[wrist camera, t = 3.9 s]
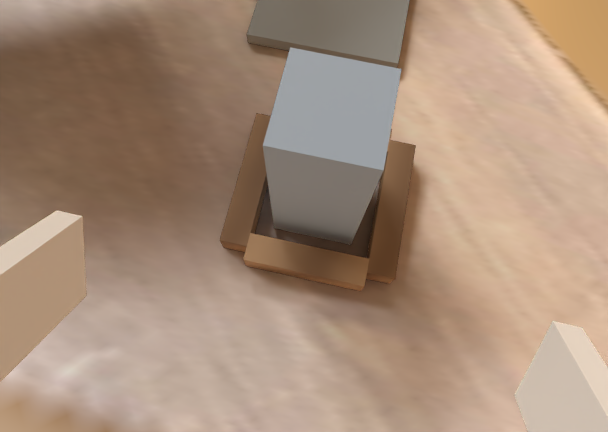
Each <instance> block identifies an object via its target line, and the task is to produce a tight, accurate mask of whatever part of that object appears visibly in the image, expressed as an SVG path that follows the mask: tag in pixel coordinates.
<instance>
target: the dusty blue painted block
mask: <svg viewBox="0 0 608 432" xmlns="http://www.w3.org/2000/svg"><path fill="white" fill-rule="evenodd" d="M400 75H401V69H399V68H394V67H389V66H383V65H378V64H373V63H368V62H363V61H358V60H353V59H347V58H342V57H337V56H332V55H327V54H322V53H317V52H311V51H306V50H301V49H296V48H291V47H290V50H289V53H288V57H287V60H286V64H285V68H284V71H283V75H282V78H281V82H280V85H279V89H278V93H277V96H276V100H275V103H274V107H273V111H272V114H271V118H270V121H269V125H268V128H267V132H266V136H265V139H264V143H263V151H264V158H265V166H266V173H267V180H268V188H269V195H270V202H271V210H272V217H273V224H274V228H276V229H280V230H285V231H289V232H294V233H299V234H303V235H308V236H313V237H317V238H322V239H326V240H331V241H336V242H340V243H345V244H350V245H351V243H352V241H353V239H354V236H355V234H356V232H357V230H358V227H359V225H360V223H361V221H362V218H363V216H364V214H365V211H366V209H367V207H368V205H369V202H370V200H371V198H372V196H373V193H374V191H375V189H376V187H377V184H378V182H379V180H380V178H381V175H382V173H383V171H384V165H385V160H386V154H387V148H388V143H389V137H390V131H391V126H392V120H393V114H394V109H395V103H396V97H397V92H398V86H399V80H400Z"/></svg>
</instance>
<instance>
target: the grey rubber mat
mask: <svg viewBox="0 0 608 432" xmlns="http://www.w3.org/2000/svg"><path fill="white" fill-rule="evenodd" d="M409 1H410V0H258V1H257V4H256V7H255V10H254V13H253V16H252V20H251V23H250V26H249V29H248V32H247V39H248V43H252V44H257V45H262V46H268V47H273V48H278V49H283V50H288V51H289V50H290V47H291V48H296V49H301V50H306V51H311V52H317V53H322V54H327V55H332V56H337V57H342V58H347V59H353V60H358V61H363V62H368V63H373V64H378V65H383V66H389V67H394V68H397V66H398V62H399V57H400V51H401V46H402V40H403V35H404V29H405V23H406V18H407V12H408V7H409Z"/></svg>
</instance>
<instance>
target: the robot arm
mask: <svg viewBox="0 0 608 432" xmlns="http://www.w3.org/2000/svg"><path fill="white" fill-rule="evenodd" d="M86 296H87V293H86V273H85V254H84V234H83V216H80V215H76V214H71V213H67V212H62V211H58V210H56V211H55V212H53V213H52V214H50V215H49V216H47V217H46V218H44V219H42V220H41V221H39V222H38V223H36V224H35V225H33V226H31V227H30V228H28V229H27V230H25V231H24V232H22V233H21V234H19V235H17V236H16V237H14V238H13V239H11V240H10V241H8V242H6V243H5V244H3V245H2V246H0V382H1V381H2V380H3V379H4V378H5V377H6V376H7V375H8V374H9V373H10V372H11V371H12V370H13V369H14V368H15V367H16V366H17V365H18V364H19V363H20V362H21V361H22V360H23V359H24V358H25V357H26V356H27V355H28V354H29V353H30V352H31V351H32V350H33V349H34V348H35V347H36V346H37V345H38V344H39V343H40V342H41V341H42V340H43V339H44V338H45V337H46V336H47V335H48V334H49V333H50V332H51V331H52V330H53V329H54V328H55V327H56V326H57V325H58V324H59V323H60V322H61V321H62V320H63V319H64V318H65V317H66V316H67V315H68V314H69V313H70V312H71V311H72V310H73V309H74V308H75V307H76V306H77V305H78V304H79V303H80V302H81V301H82V300H83V299H84V298H85V297H86ZM514 396H515V398H516V401H517V404H518V407H519V409H520V412H521V415H522V418H523V421H524V423H525V426H526V429H527V432H608V367H607V365H606V364H605V362H604V361H603V359H602V358H601V356H600V354H599V353H598V351H597V350H596V348H595V347H594V345H593V344H592V342H591V341H590V339H589V338H588V336H587V334H586V333H585V331H584V330H583V328H582V327H578V326H574V325H569V324H565V323H561V322H556V321H552V323H551V325H550V327H549V329H548V331H547V333H546V335H545V337H544V339H543V340H542V342H541V344H540V346H539V348H538V350H537V352H536V354H535V356H534V358H533V360H532V362H531V364H530V365H529V367H528V369H527V371H526V373H525V375H524V377H523V379H522V381H521V383H520V385H519V387H518V389H517V391H516V392H515V394H514Z"/></svg>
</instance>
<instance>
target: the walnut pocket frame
mask: <svg viewBox="0 0 608 432" xmlns="http://www.w3.org/2000/svg"><path fill="white" fill-rule="evenodd" d="M270 118H271V116H268V115H263V114H258V113H257V114H256V117H255V121H254V124H253V127H252V131H251V134H250V138H249V141H248V144H247V148H246V151H245V155H244V158H243V162H242V165H241V168H240V172H239V175H238V179H237V182H236V186H235V189H234V192H233V196H232V199H231V203H230V206H229V209H228V213H227V216H226V220H225V223H224V227H223V230H222V233H221V237H220V242H221V244H222V245H223V247H224V248H228V249H233V250H237V251H242V252H245V255H244V258H243V260H244V262H245V265H246V266H249V267H253V268H258V269H262V270H267V271H271V272H276V273H281V274H285V275H290V276H294V277H299V278H303V279H308V280H312V281H317V282H321V283H326V284H330V285H335V286H339V287H344V288H349V289H353V290H358V291H361V290H362V289H363V288H364V286H365V281H366V279H370V280H374V281H379V282H383V283H388V284H390V283H391V282H392V281H393V280H394V279H395V277H396V270H397V264H398V257H399V251H400V244H401V238H402V231H403V224H404V218H405V211H406V205H407V198H408V192H409V185H410V179H411V172H412V166H413V159H414V153H415V146H416V145H412V144H407V143H402V142H397V141H392V140H390V138H391V132H392V129H391V131H390V137H389V143H388V148H387V154H386V160H385V165H384V171H383V173H382V175H381V179H380V184H379V190H378V196H377V201H376V207H375V213H374V218H373V224H372V230H371V235H370V241H369V247H368V252H367V258H364V257H359V256H355V255H350V254H345V253H341V252H336V251H332V250H327V249H322V248H318V247H313V246H308V245H304V244H299V243H295V242H290V241H285V240H281V239H276V238H272V237H267V236H262V235H258V234H255V230H256V227H257V223H258V219H259V215H260V212H261V208H262V204H263V200H264V197H265V193H266V189H267V185H268V180H267V173H266V166H265V158H264V151H263V143H264V139H265V136H266V132H267V128H268V125H269V121H270Z"/></svg>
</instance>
